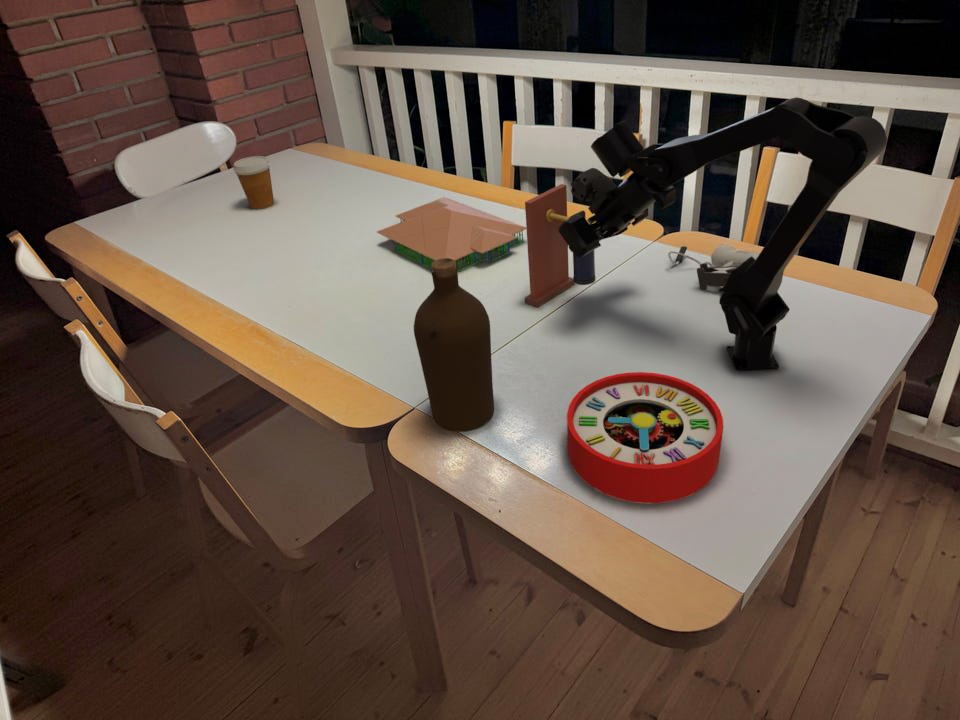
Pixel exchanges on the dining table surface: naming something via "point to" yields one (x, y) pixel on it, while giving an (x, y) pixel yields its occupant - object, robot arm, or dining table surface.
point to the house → (451, 231)
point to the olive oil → (455, 352)
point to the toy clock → (644, 437)
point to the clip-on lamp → (717, 264)
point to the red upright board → (547, 246)
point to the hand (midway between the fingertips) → (577, 245)
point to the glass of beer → (255, 180)
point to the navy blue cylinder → (583, 264)
